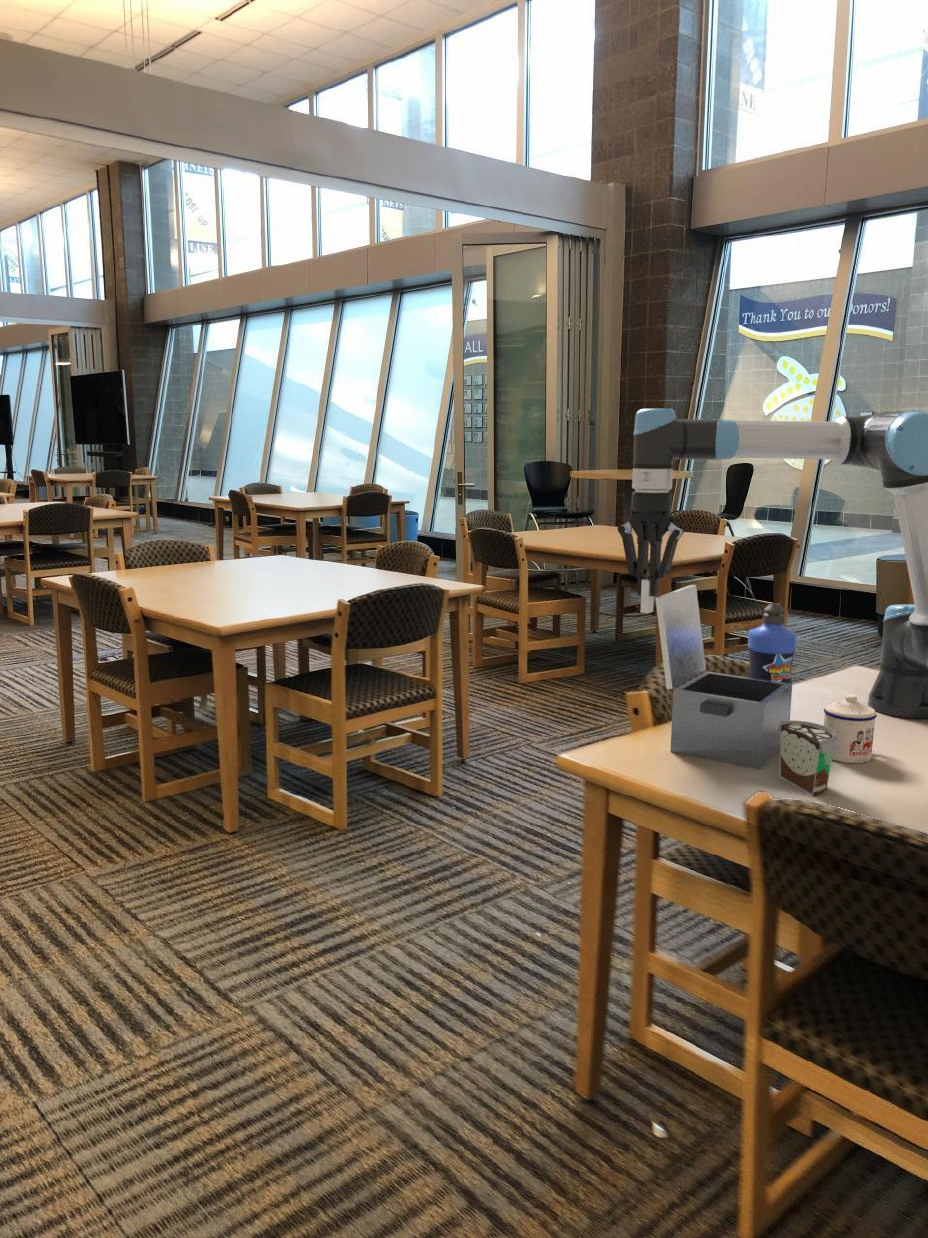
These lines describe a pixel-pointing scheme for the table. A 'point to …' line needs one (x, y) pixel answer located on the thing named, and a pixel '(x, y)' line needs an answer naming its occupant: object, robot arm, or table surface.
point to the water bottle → (772, 648)
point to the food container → (806, 754)
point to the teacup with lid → (851, 729)
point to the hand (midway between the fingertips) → (646, 611)
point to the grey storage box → (729, 718)
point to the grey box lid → (680, 635)
